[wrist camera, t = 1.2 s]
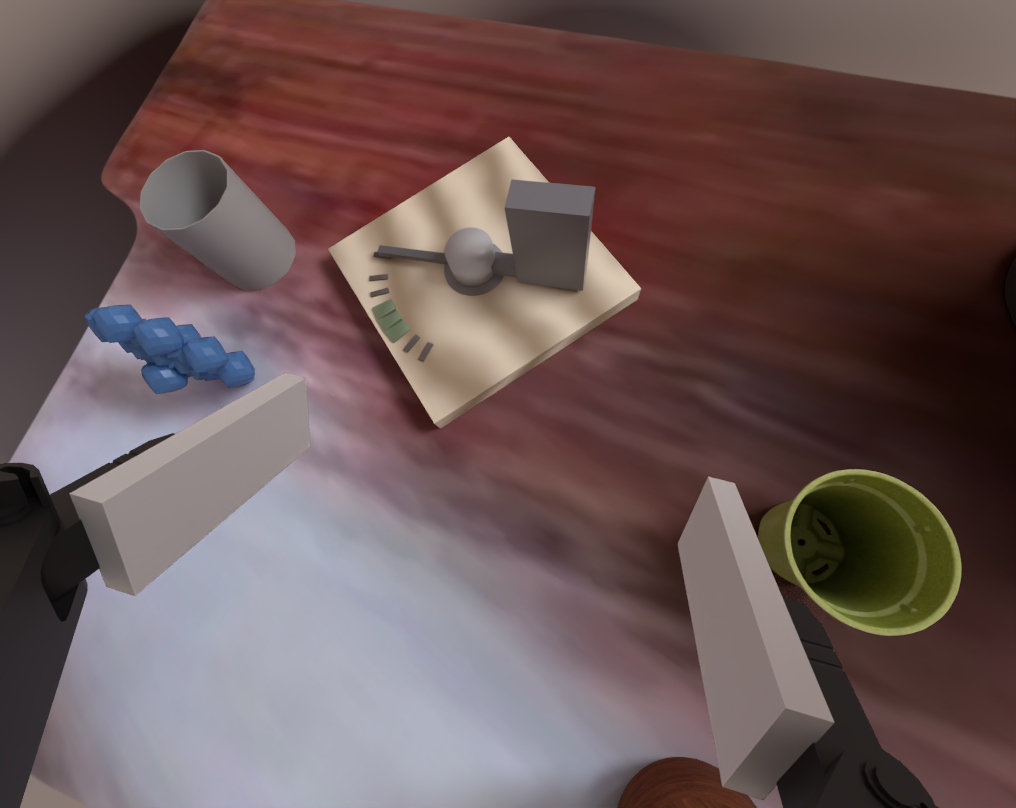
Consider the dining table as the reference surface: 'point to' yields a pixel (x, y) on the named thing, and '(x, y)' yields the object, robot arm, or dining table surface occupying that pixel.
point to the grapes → (169, 349)
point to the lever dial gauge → (523, 239)
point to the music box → (681, 787)
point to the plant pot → (866, 551)
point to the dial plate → (470, 290)
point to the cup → (217, 220)
